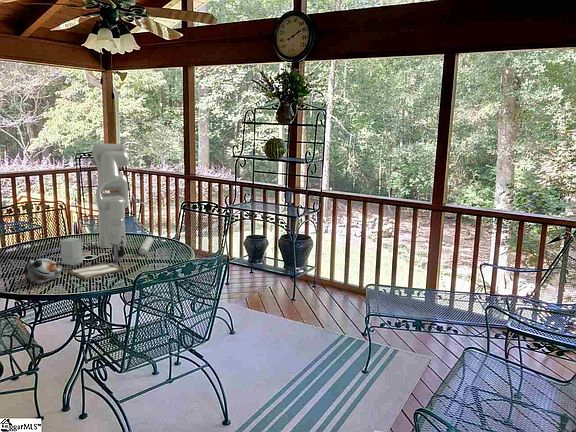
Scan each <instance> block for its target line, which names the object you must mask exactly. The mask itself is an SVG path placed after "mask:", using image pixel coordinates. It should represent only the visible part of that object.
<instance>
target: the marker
mask: <svg viewBox="0 0 576 432" xmlns="http://www.w3.org/2000/svg"><path fill="white" fill-rule="evenodd" d="M120 244H122V243H120ZM121 246H122V245H120V247H121ZM118 250H119V249H118V245H116V244H114V255H113V258H114V260H113V261H114V262H117V263H119V262H120V263H121V262H122V261H123V257H118Z"/></svg>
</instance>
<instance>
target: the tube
mask: <svg viewBox="0 0 576 432" xmlns="http://www.w3.org/2000/svg"><path fill="white" fill-rule="evenodd" d="M153 243H154V238H153V237H152V236H146V237H145V238H144V241H143V242H142V244H141V246H140V248H139V249H138V254H139V255H141V256H146V255H147V254H148V253H149V250H150V249H151V246H152V244H153Z"/></svg>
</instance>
